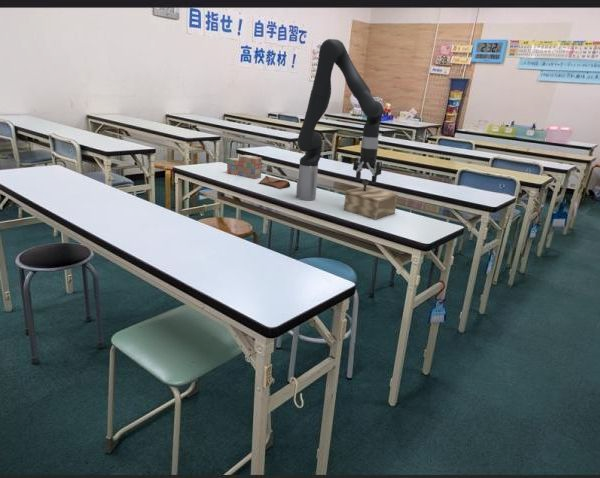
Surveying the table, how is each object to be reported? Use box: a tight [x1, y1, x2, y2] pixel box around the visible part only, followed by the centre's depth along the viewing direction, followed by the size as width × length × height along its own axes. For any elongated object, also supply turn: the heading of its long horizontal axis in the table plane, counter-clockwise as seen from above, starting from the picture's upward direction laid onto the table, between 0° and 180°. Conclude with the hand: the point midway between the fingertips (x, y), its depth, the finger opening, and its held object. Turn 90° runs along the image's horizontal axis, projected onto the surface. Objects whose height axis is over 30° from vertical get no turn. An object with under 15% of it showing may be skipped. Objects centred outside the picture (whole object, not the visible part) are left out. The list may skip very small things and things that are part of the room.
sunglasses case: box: [257, 175, 291, 190], centre depth 246 cm, size 18×7×7 cm, turn 54°
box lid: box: [344, 178, 399, 202], centre depth 203 cm, size 19×16×7 cm
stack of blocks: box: [226, 154, 263, 180], centre depth 263 cm, size 21×6×12 cm, turn 59°
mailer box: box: [343, 193, 398, 221], centre depth 206 cm, size 18×16×8 cm
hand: (365, 181), depth 205 cm, fingers open, 8 cm apart
